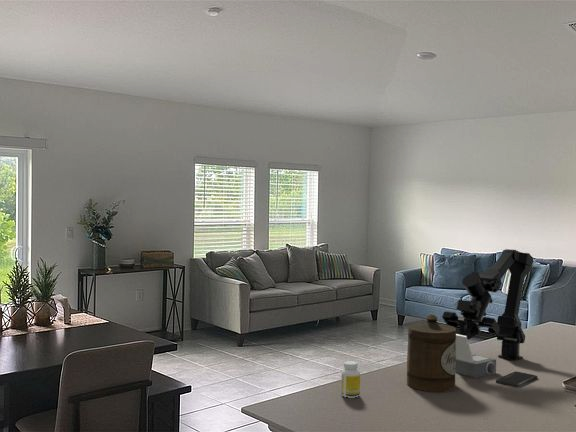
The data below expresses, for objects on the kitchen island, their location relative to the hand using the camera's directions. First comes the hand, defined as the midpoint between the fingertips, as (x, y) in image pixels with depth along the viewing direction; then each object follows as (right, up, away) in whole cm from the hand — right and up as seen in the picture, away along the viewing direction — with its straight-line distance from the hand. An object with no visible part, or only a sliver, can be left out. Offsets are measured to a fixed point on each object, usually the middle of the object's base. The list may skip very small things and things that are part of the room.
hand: (460, 343), depth 202 cm
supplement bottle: (-38, -11, -20) cm, 45 cm away
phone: (+17, -12, -3) cm, 21 cm away
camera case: (+6, -11, +5) cm, 14 cm away
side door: (0, -1, +1) cm, 2 cm away
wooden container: (-12, -11, -9) cm, 19 cm away
